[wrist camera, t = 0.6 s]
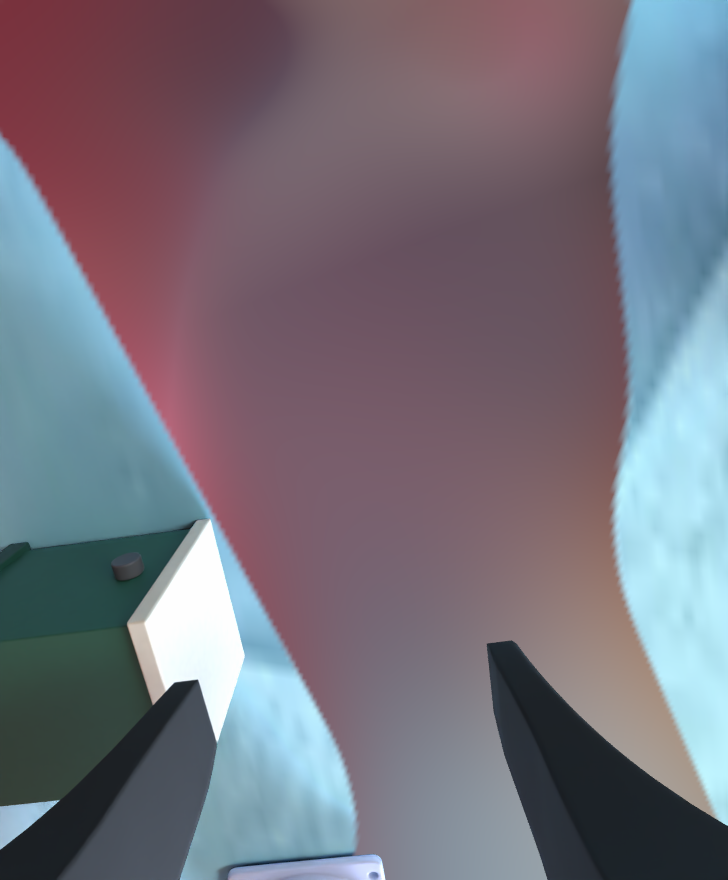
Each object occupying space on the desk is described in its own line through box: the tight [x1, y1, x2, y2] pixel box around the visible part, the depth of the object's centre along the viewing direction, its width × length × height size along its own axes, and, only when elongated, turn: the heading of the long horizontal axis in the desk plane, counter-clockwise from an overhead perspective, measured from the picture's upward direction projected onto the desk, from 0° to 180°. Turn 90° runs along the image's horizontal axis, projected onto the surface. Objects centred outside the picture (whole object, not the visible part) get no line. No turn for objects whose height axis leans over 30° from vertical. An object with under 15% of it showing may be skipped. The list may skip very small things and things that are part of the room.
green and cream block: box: [0, 519, 245, 806], centre depth 20 cm, size 9×8×7 cm
